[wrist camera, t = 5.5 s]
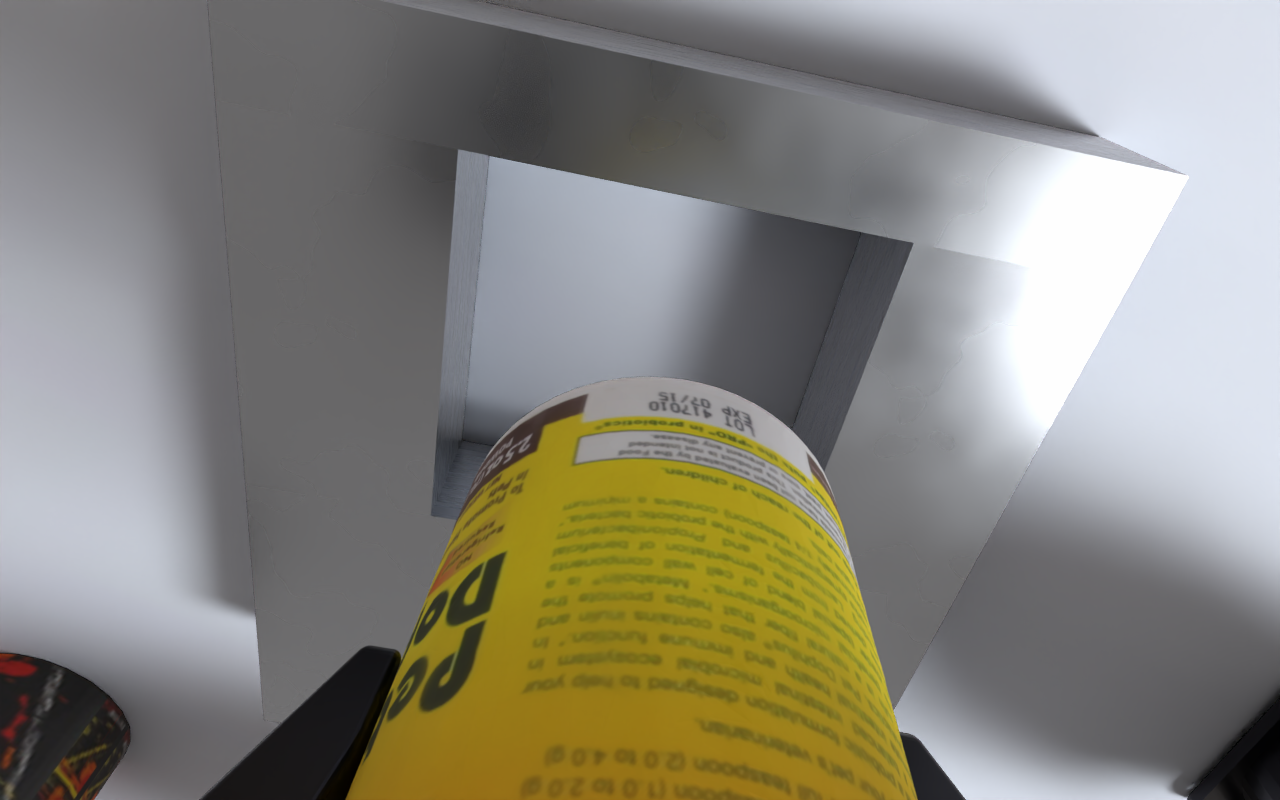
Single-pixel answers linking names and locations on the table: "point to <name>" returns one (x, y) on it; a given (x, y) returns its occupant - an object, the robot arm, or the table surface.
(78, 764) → the deodorant
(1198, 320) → the table surface
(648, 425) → the supplement bottle
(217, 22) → the jig block
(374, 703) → the robot arm
